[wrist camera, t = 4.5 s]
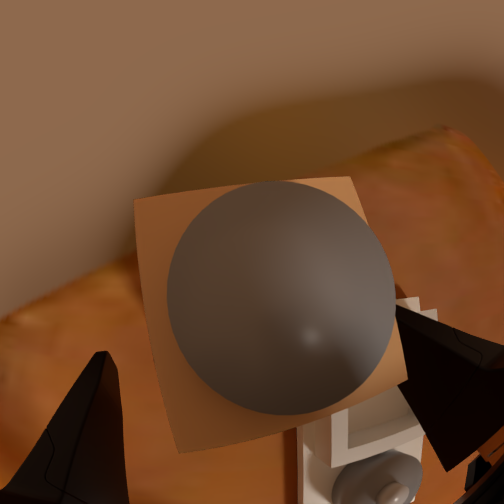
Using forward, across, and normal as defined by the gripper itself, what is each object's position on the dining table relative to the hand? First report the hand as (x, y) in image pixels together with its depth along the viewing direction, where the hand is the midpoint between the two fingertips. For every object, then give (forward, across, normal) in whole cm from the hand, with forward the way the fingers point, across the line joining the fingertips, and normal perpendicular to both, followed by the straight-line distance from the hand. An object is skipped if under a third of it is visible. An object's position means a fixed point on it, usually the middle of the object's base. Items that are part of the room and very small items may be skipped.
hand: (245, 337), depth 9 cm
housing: (0, -8, +12) cm, 14 cm away
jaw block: (+6, 0, +6) cm, 8 cm away
